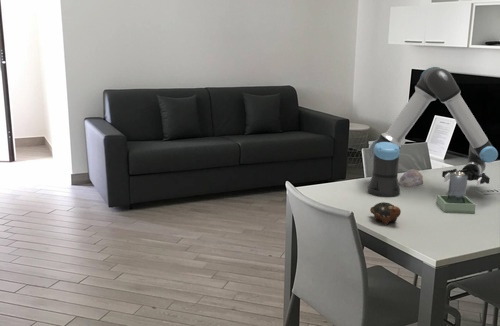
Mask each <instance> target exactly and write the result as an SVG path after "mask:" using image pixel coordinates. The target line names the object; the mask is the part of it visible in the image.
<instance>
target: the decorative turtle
mask: <svg viewBox="0 0 500 326" xmlns="http://www.w3.org/2000/svg"><path fill="white" fill-rule="evenodd" d="M369 209H370V213H371V214H373V216H374V219H375V221H376V222H381V223H382V224H383V225H385V226H387V225H388V224H389V222H391V223H393V224H394V223H396V221H397V219H398V218H399V217H400V215H401V211H402V210H401V209H400V207H399V206H395V205H394V204H392V203H389V202H385V201H383V202H382V201H381V202H378V203H376V204H375V205H373V206H372V207H370V208H369Z"/></svg>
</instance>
